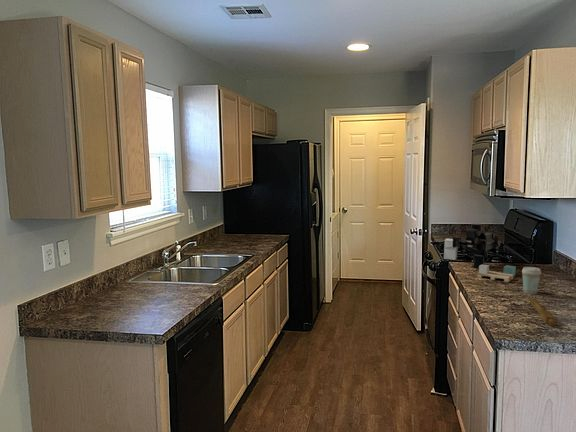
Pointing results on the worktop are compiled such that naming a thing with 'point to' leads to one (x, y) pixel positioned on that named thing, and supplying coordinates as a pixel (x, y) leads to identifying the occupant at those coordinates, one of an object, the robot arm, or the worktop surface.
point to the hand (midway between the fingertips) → (464, 246)
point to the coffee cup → (531, 279)
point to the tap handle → (543, 313)
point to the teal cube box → (509, 270)
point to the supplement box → (449, 250)
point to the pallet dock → (497, 275)
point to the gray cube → (484, 269)
